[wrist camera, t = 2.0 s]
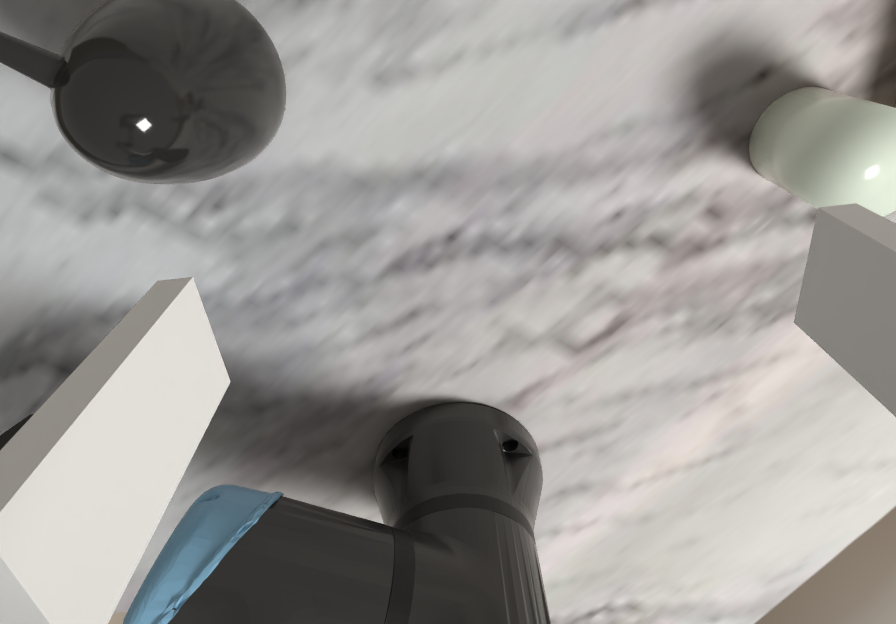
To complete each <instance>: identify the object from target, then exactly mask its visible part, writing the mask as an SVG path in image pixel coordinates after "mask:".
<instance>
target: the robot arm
mask: <svg viewBox="0 0 896 624" xmlns="http://www.w3.org/2000/svg"><path fill="white" fill-rule="evenodd" d="M794 323H795V324H796V325H797V326H798V327H799V328H800V329H802V330H803V331H804V332H805V333H806V334H807V335H808V336H809V337H810V338H811V339H812V340H813V341H815V342H816V343H817V344H818V345H819V346H820V347H821V348H822V349H823V350H824V351H825V352H826V353H827V354H829V355H830V356H831V357H832V358H833V359H834V360H835V361H836V362H837V363H838V364H839V365H840V366H841V367H843V368H844V369H845V370H846V371H847V372H848V373H849V374H850V375H851V376H852V377H853V378H854V379H855V380H857V381H858V382H859V383H860V384H861V385H862V386H863V387H864V388H865V389H866V390H867V391H868V392H869V393H871V394H872V395H873V396H874V397H875V398H876V399H877V400H878V401H879V402H880V403H881V404H882V405H883V406H885V407H886V408H887V409H888V410H889V411H890V412H891V413H892V414H893V415H894V416H895V417H896V223H894V222H892V221H890V220H888V219H886V218H884V217H882V216H880V215H878V214H876V213H874V212H872V211H870V210H868V209H866V208H864V207H862V206H860V205H859V204H857V203H854V204H845V205H836V206H827V207H818V211H817V216H816V221H815V225H814V230H813V235H812V240H811V244H810V249H809V254H808V258H807V263H806V268H805V273H804V277H803V282H802V287H801V291H800V296H799V301H798V306H797V310H796V315H795V320H794ZM229 384H230V379H229V376H228V373H227V371H226V368H225V365H224V362H223V360H222V357H221V354H220V351H219V348H218V346H217V343H216V340H215V337H214V335H213V332H212V329H211V326H210V323H209V321H208V318H207V315H206V312H205V310H204V307H203V304H202V301H201V299H200V296H199V293H198V290H197V287H196V285H195V282H194V279H193V277H189V278H180V279H171V280H162V281H157V282H156V283H155V284H154V285H153V286H152V287H151V289H150V290H149V291H148V292H147V293H146V294H145V295H144V296H143V297H142V298H141V299H140V300H139V301H138V303H137V304H136V305H135V306H134V307H133V308H132V309H131V310H130V311H129V312H128V313H127V314H126V315H125V317H124V318H123V319H122V320H121V321H120V322H119V323H118V324H117V325H116V326H115V327H114V328H113V330H112V331H111V332H110V333H109V334H108V335H107V336H106V337H105V338H104V339H103V340H102V341H101V342H100V344H99V345H98V346H97V347H96V348H95V349H94V350H93V351H92V352H91V353H90V354H89V355H88V356H87V358H86V359H85V360H84V361H83V362H82V363H81V364H80V365H79V366H78V367H77V368H76V369H75V370H74V372H73V373H72V374H71V375H70V376H69V377H68V378H67V379H66V380H65V381H64V382H63V383H62V384H61V386H60V387H59V388H58V389H57V390H56V391H55V392H54V393H53V394H52V395H51V396H50V397H49V398H48V400H47V401H46V402H45V403H44V404H43V405H42V406H41V407H40V408H39V409H38V410H37V411H36V413H35V414H31V415H29V416H28V417H26V418H25V419H23V420H22V421H21V422H19V423H18V424H16V425H15V426H13V427H12V428H10V429H9V430H8V431H6V432H5V433H3V434H2V435H0V624H108V622H109V620H110V618H111V616H112V614H113V612H114V610H115V608H116V606H117V604H118V603H119V601H120V599H121V597H122V595H123V593H124V591H125V589H126V587H127V585H128V583H129V581H130V579H131V577H132V575H133V573H134V571H135V569H136V567H137V565H138V563H139V561H140V559H141V557H142V555H143V553H144V551H145V549H146V547H147V545H148V543H149V541H150V539H151V537H152V535H153V534H154V532H155V530H156V528H157V526H158V524H159V522H160V520H161V518H162V516H163V514H164V512H165V510H166V508H167V506H168V504H169V502H170V500H171V498H172V496H173V494H174V492H175V490H176V488H177V486H178V484H179V482H180V480H181V478H182V476H183V474H184V472H185V470H186V468H187V466H188V465H189V463H190V461H191V459H192V457H193V455H194V453H195V451H196V449H197V447H198V445H199V443H200V441H201V439H202V437H203V435H204V433H205V431H206V429H207V427H208V425H209V423H210V421H211V419H212V417H213V415H214V413H215V411H216V409H217V407H218V405H219V403H220V401H221V399H222V397H223V396H224V394H225V392H226V390H227V388H228V386H229ZM542 482H543V474H542V466H541V462H540V458H539V453H538V449H537V446H536V444H535V442H534V440H533V438H532V436H531V435H530V433H529V432H528V431H527V430H526V429H525V427H524V426H522V425H521V424H520V423H519V422H518V421H517V420H515V419H514V418H512V417H511V416H509V415H507V414H505V413H503V412H501V411H499V410H496V409H493V408H490V407H487V406H483V405H478V404H469V403H450V404H442V405H437V406H432V407H429V408H426V409H423V410H420V411H418V412H415V413H413V414H411V415H409V416H408V417H406V418H404V419H403V420H402V421H400V422H399V423H398V424H396V425H395V426H394V427H393V428H392V429H391V430H390V431H389V432H388V433H387V435H386V436H385V437H384V439H383V440H382V442H381V444H380V446H379V448H378V451H377V454H376V459H375V467H374V477H373V484H374V492H375V497H376V500H377V503H378V506H379V510H380V513H381V516H382V519H383V522H384V524H381V523H377V522H374V521H370V520H367V519H363V518H359V517H356V516H352V515H348V514H345V513H341V512H337V511H334V510H330V509H327V508H323V507H319V506H316V505H312V504H308V503H305V502H301V501H298V500H294V499H290V498H287V497H283V495H284V494H283V493H281V492H274V493H273V494H271V493H267V492H262V491H258V490H253V489H249V488H244V487H239V486H235V485H219V486H216V487H213V488H211V489H209V490H208V491H206V492H205V493H203V494H202V495H201V496H200V497H199V498H198V499H197V500H196V501H195V502H194V503H193V504H192V505H191V507H190V508H189V509H188V511H187V512H186V513H185V515H184V516H183V518H182V519H181V521H180V522H179V524H178V525H177V527H176V528H175V530H174V531H173V533H172V535H171V536H170V538H169V539H168V541H167V543H166V544H165V546H164V547H163V549H162V551H161V552H160V554H159V556H158V557H157V559H156V561H155V563H154V564H153V566H152V568H151V570H150V571H149V573H148V575H147V577H146V578H145V580H144V582H143V584H142V586H141V587H140V589H139V591H138V593H137V595H136V597H135V598H134V600H133V602H132V604H131V606H130V608H129V610H128V612H127V614H126V616H125V618H124V621H123V624H551V622H550V616H549V611H548V606H547V601H546V596H545V590H544V585H543V580H542V575H541V569H540V564H539V559H538V554H537V549H536V544H535V538H534V532H533V530H534V525H535V520H536V515H537V510H538V505H539V500H540V495H541V490H542Z"/></svg>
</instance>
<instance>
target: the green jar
mask: <svg viewBox="0 0 896 624" xmlns="http://www.w3.org/2000/svg"><path fill="white" fill-rule="evenodd" d="M749 155H750V160H751V163H752V165H753V167H754V168H755V170H756V171H757V172H758V173H759V174H760V175H761V176H762V177H764V178H765V179H767V180H769V181H770V182H772V183H774V184H776V185H777V186H779V187H781V188H782V189H784V190H786V191H788V192H789V193H791V194H793V195H794V196H796V197H798V198H800V199H801V200H803V201H805V202H806V203H808V204H810V205H811V206H813V207H815V208H817V209H818V207H827V206H836V205H845V204H854V203H857V204H859V205H860V206H862V207H864V208H866V209H868V210H870V211H872V212H874V213H876V214H878V215H880V216H882V217H884V216H886V215H888V214H890V213H892V212H893V211H895V210H896V108H894V107H890V106H887V105H883V104H879V103H875V102H872V101H868V100H864V99H861V98H857V97H853V96H849V95H846V94H842V93H838V92H834V91H831V90H827V89H823V88H819V87H804V88H799V89H796V90H793V91H790V92H788V93H786V94H784V95H782V96H781V97H779V98H778V99H776V100H775V101H774V102H773V103H772V104H770V105H769V106H768V107H767V108H766V109H765V111H764V112H763V113H762V114H761V116H760V117H759V119H758V120H757V122H756V124H755V126H754V128H753V131H752V133H751V137H750V142H749Z"/></svg>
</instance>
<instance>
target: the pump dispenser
mask: <svg viewBox="0 0 896 624" xmlns="http://www.w3.org/2000/svg"><path fill="white" fill-rule="evenodd" d="M0 63H2V64H4V65H6V66H8V67H10V68H12V69H14V70H16V71H18V72H20V73H21V74H23V75H25V76H27V77H29V78H31V79H33V80H35V81H37V82H39V83H41V84H43V85H45V86H46V87H48V88H50V89H51V94H50V101H51V107H52V111H53V115H54V118H55V121H56V124H57V126H58V129H59V130H60V132H61V134H62V136H63V137H64V139H65V140H66V141H67V143H68V144H69V145H70V146H71V147H72V148H73V149H74V151H75V152H77V153H78V154H79V155H80V156H81V157H82V158H83V159H85V160H86V161H87V162H89V163H90V164H92V165H93V166H95V167H97V168H99V169H100V170H102V171H104V172H106V173H109V174H111V175H114V176H116V177H119V178H122V179H126V180H130V181H135V182H141V183H148V184H185V183H194V182H200V181H205V180H209V179H213V178H216V177H219V176H222V175H224V174H227V173H229V172H232V171H234V170H236V169H238V168H240V167H242V166H244V165H246V164H247V163H249V162H250V161H252V160H253V159H255V158H256V157H257V156H258V155H259V154H260V153H262V152H263V151H264V150H265V148H266V147H267V146H268V145H269V144H270V142H271V141H272V140H273V138H274V137H275V135H276V133H277V131H278V129H279V127H280V125H281V122H282V119H283V115H284V110H285V104H286V83H285V76H284V71H283V67H282V64H281V61H280V58H279V55H278V53H277V51H276V48H275V46H274V44H273V42H272V41H271V39H270V37H269V36H268V34H267V32H266V31H265V30H264V28H263V27H262V26H261V24H260V23H259V22H258V21H257V19H256V18H255V17H254V16H253V15H252V14H251V13H250V12H249V11H248V10H247V9H246V8H244V7H243V6H242V5H241V4H240V3H238V2H237V1H236V0H107V1H105V2H103V3H102V4H100V5H99V6H98V7H96V8H95V9H94V10H92V11H91V12H90V13H89V14H88V15H87V16H86V17H85V18H84V19H82V20H81V22H80V23H79V24H78V25H77V26H76V27H75V28H74V30H73V31H72V32H71V33H70V35H69V36H68V38H67V39H66V41H65V43H64V45H63V47H62V49H61V51H60V53H59V55H57V54H55V53H52V52H50V51H47V50H45V49H42V48H40V47H37V46H35V45H32V44H30V43H27V42H25V41H22V40H20V39H17V38H15V37H13V36H10V35H8V34H5V33H3V32H0Z"/></svg>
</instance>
